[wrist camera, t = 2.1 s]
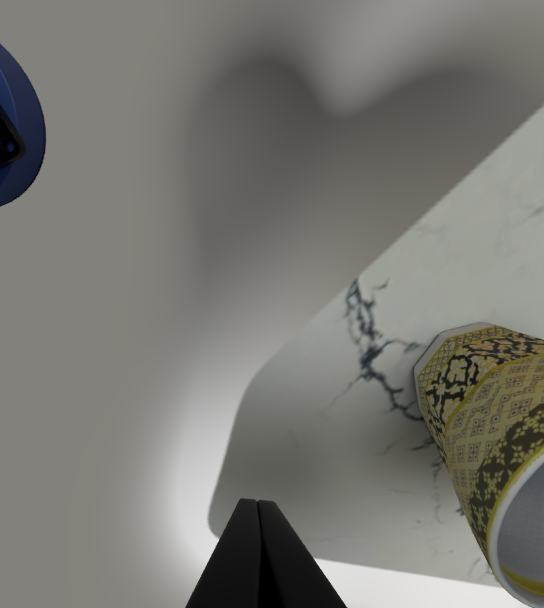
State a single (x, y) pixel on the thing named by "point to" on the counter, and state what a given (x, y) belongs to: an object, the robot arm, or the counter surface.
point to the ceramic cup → (492, 443)
